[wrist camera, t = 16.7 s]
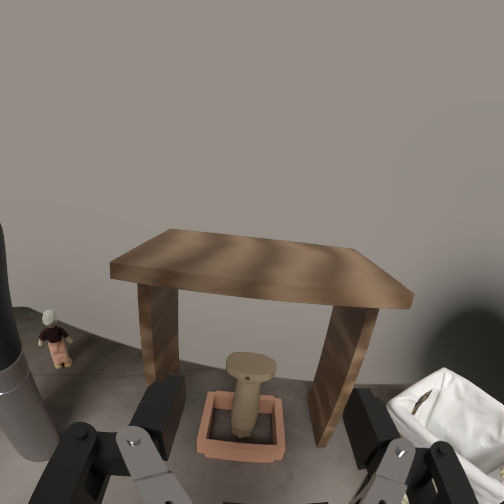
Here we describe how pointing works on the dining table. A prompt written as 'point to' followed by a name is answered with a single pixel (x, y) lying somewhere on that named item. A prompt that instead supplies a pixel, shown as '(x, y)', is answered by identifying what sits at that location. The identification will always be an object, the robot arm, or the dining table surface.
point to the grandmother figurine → (55, 340)
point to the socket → (242, 449)
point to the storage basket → (456, 427)
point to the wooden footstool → (268, 288)
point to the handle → (247, 388)
